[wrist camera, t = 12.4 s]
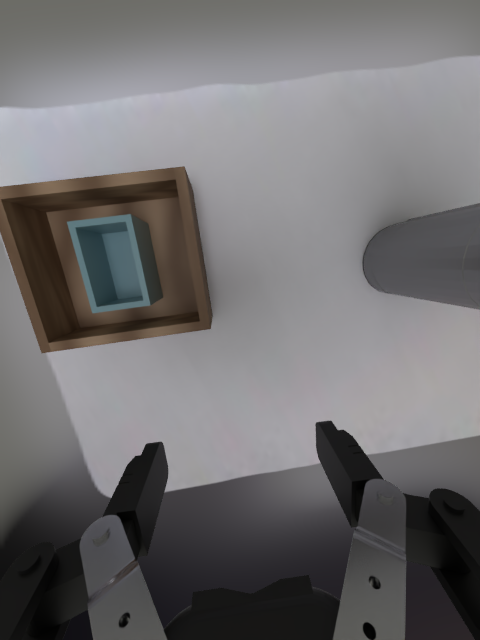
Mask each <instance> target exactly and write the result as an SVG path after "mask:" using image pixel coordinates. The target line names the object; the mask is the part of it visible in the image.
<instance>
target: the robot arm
mask: <svg viewBox="0 0 480 640" xmlns="http://www.w3.org/2000/svg"><path fill="white" fill-rule="evenodd" d="M363 266H364V272H365V276H366V278H367V280H368V281H369V283H370V284H371V285H372V286H373V287H374V288H376V289H377V290H379V291H382V292H385V293H390V294H396V295H401V296H406V297H412V298H417V299H423V300H429V301H434V302H440V303H445V304H451V305H456V306H462V307H468V308H473V309H479V310H480V203H478V204H474V205H469V206H465V207H461V208H456V209H452V210H448V211H443V212H439V213H435V214H430V215H426V216H422V217H417V218H413V219H409V220H408V221H407V222H405V223H400V224H396V225H392V226H389V227H386V228H385V229H383V230H381V231H380V232H379V233H378V234H376V235H375V236H374V237H373V239H372V240H371V241H370V243H369V245H368V247H367V249H366V252H365V255H364V261H363ZM316 448H317V454H318V457H319V460H320V462H321V464H322V466H323V469H324V471H325V473H326V475H327V477H328V479H329V481H330V483H331V485H332V488H333V490H334V492H335V494H336V496H337V498H338V501H339V503H340V505H341V507H342V509H343V511H344V513H345V515H346V518H347V520H348V522H349V524H350V526H351V527H357V529H355V531H354V535H353V540H352V545H351V551H350V555H349V560H348V565H347V570H346V575H345V580H344V586H343V591H342V596H341V601H340V600H339V599H338V598H336V597H334V596H333V595H332V594H330V593H328V592H326V591H324V590H321V589H318V588H314V587H312V586H311V582H310V578H309V575H306V576H299V577H293V578H286V579H280V580H278V581H276V582H274V583H272V584H271V585H269V586H267V587H265V588H263V589H261V590H259V591H257V592H255V593H252V594H249V593H244V592H239V591H234V590H229V589H224V588H218V589H211V590H204V591H198V592H193V597H192V605H191V606H189V607H187V608H186V609H185V610H183V611H182V612H180V613H179V614H178V615H177V616H176V617H175V618H174V619H172V621H171V622H170V623H169V624H168V625H167V626H166V627H165V629H164V630H163V627H162V625H161V622H160V620H159V617H158V614H157V612H156V609H155V607H154V604H153V601H152V599H151V596H150V593H149V591H148V588H147V585H146V583H145V581H144V578H143V575H142V572H141V570H140V567H139V565H138V562H137V558H138V557H140V556H147V555H148V551H149V547H150V544H151V540H152V536H153V532H154V529H155V525H156V521H157V517H158V513H159V510H160V506H161V502H162V498H163V494H164V491H165V487H166V483H167V479H168V464H167V460H166V455H165V450H164V445H163V443H162V442H155V443H147V444H146V445H145V447H144V450H143V452H142V454H141V455H140V456H135V457H134V458H133V459H132V461H131V462H130V463H129V464H128V465H127V467H126V469H125V471H124V473H123V476H122V477H121V479H120V481H119V485H118V486H117V488H116V490H115V492H114V494H113V496H112V498H111V500H110V502H109V504H108V507H107V508H106V510H105V513H104V515H103V517H102V518H100V519H98V520H97V521H95V522H94V523H93V524H92V525H91V526H90V527H89V528H88V529H87V530H86V531H85V533H84V534H83V536H82V538H81V539H79V540H77V541H75V542H72V543H70V544H68V545H66V546H63V547H61V548H59V549H57V550H55V548H54V545H53V544H52V543H50V542H43V543H39V544H37V545H35V546H33V547H31V548H30V549H28V550H26V551H25V552H24V553H23V554H21V555H20V556H19V557H18V558H17V559H16V560H15V561H14V562H13V564H12V565H11V566H10V567H9V569H8V570H7V572H6V573H5V575H4V577H3V578H2V580H1V581H0V640H63V637H64V635H65V632H66V630H67V627H68V625H69V622H70V620H71V618H73V617H75V616H76V615H78V614H80V613H81V612H84V611H86V610H88V611H89V616H90V622H91V628H92V634H93V640H405V598H406V597H405V596H406V561H410V562H414V563H418V564H423V565H427V566H430V567H431V569H432V571H433V572H434V574H435V575H436V577H437V579H438V580H439V582H440V583H441V585H442V587H443V588H444V590H445V592H446V593H447V595H448V597H449V598H450V600H451V602H452V603H453V605H454V606H455V608H456V610H457V611H458V613H459V614H460V616H461V618H462V619H463V621H464V623H465V624H466V626H467V627H468V629H469V631H470V632H471V634H472V636H473V637H474V639H475V640H480V511H479V510H478V509H477V508H476V507H475V506H474V505H473V504H472V503H471V502H470V501H469V500H468V499H466V498H465V497H463V496H462V495H460V494H458V493H456V492H454V491H451V490H447V489H434V490H433V491H431V493H430V496H429V498H424V497H418V496H412V495H407V494H404V493H402V491H401V490H400V489H399V488H398V487H396V486H395V485H394V484H392V483H390V482H388V481H386V480H384V479H383V478H382V476H381V475H380V474H379V472H378V471H377V469H376V468H375V467H374V465H373V464H372V463H371V461H370V460H369V458H368V457H367V456H366V454H365V453H364V452H363V450H362V449H361V447H360V446H359V444H358V443H357V442H356V440H355V439H354V438H353V436H351V435H350V434H349V433H347V432H346V431H345V430H337V429H336V427H335V426H334V424H333V423H332V421H323V422H317V423H316Z"/></svg>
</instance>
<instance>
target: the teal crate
mask: <svg viewBox="0 0 480 640" xmlns="http://www.w3.org/2000/svg"><path fill="white" fill-rule="evenodd" d="M67 224H68V228H69V231H70V235H71V238H72V242H73V246H74V249H75V253H76V256H77V260H78V264H79V267H80V271H81V274H82V278H83V281H84V285H85V289H86V292H87V296H88V299H89V303H90V307H91V310H92V313H99V312H106V311H113V310H121V309H128V308H135V307H142V306H149V305H152V304H154V303H155V302H157V301H158V300H160V299H162V298H163V293H162V289H161V284H160V279H159V274H158V269H157V264H156V259H155V254H154V249H153V245H152V240H151V235H150V230H149V225H148V223H146V222H144V221H142V220H140V219H139V218H137V217H135V216H133V215H131V214H127V215H119V216H110V217H102V218H94V219H86V220H77V221H69V222H67Z"/></svg>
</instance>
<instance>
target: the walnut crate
mask: <svg viewBox="0 0 480 640" xmlns="http://www.w3.org/2000/svg"><path fill="white" fill-rule="evenodd" d="M127 214H131V215H133V216H135V217H137V218H139V219H140V220H142V221H144V222H146V223H148V225H149V230H150V235H151V240H152V245H153V249H154V254H155V259H156V264H157V269H158V274H159V279H160V284H161V289H162V293H163V298H162V299H160V300H158V301H157V302H155V303H154V304H152V305H149V306H142V307H135V308H128V309H121V310H113V311H106V312H99V313H92V310H91V307H90V303H89V299H88V296H87V292H86V289H85V285H84V281H83V278H82V274H81V271H80V267H79V264H78V260H77V256H76V253H75V249H74V246H73V242H72V238H71V235H70V231H69V228H68V224H67V222H69V221H77V220H86V219H94V218H102V217H110V216H119V215H127ZM0 233H1V235H2V238H3V241H4V244H5V247H6V250H7V253H8V256H9V259H10V262H11V265H12V268H13V271H14V274H15V276H16V279H17V282H18V285H19V288H20V291H21V294H22V297H23V300H24V303H25V306H26V309H27V312H28V315H29V317H30V320H31V323H32V326H33V329H34V332H35V335H36V338H37V341H38V344H39V346H40V350H41V352H42V353H46V352H53V351H60V350H67V349H74V348H81V347H88V346H95V345H102V344H109V343H116V342H123V341H130V340H137V339H144V338H151V337H157V336H164V335H171V334H178V333H185V332H192V331H199V330H206V329H211V322H212V309H211V303H210V297H209V290H208V284H207V278H206V271H205V265H204V259H203V252H202V246H201V240H200V233H199V227H198V221H197V214H196V208H195V202H194V195H193V189H192V186H191V183H190V181H189V178H188V175H187V172H186V170H185V167H176V168H166V169H157V170H148V171H139V172H130V173H121V174H112V175H103V176H94V177H85V178H76V179H67V180H58V181H49V182H40V183H31V184H22V185H13V186H4V187H0Z"/></svg>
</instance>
